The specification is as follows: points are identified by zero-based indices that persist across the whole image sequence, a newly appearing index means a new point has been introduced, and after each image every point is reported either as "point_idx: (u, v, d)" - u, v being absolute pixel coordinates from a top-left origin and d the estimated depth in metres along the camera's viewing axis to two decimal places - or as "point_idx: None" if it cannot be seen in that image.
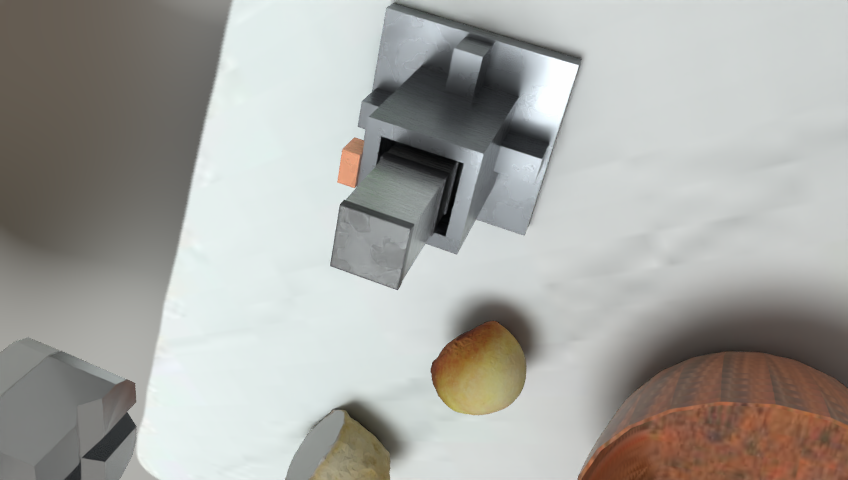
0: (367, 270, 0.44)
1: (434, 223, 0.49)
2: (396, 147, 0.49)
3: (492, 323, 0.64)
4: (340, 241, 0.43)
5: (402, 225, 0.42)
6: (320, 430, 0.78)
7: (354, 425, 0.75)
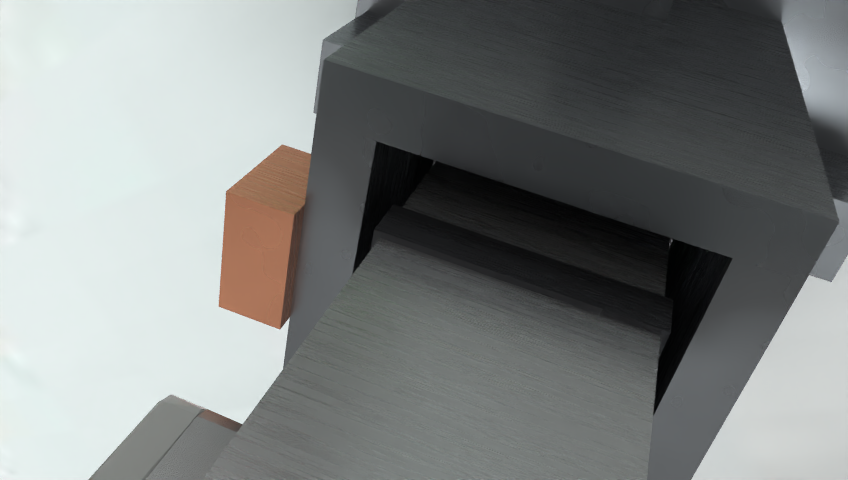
0: None
1: None
2: (436, 184, 0.13)
3: None
4: None
5: None
6: None
7: None
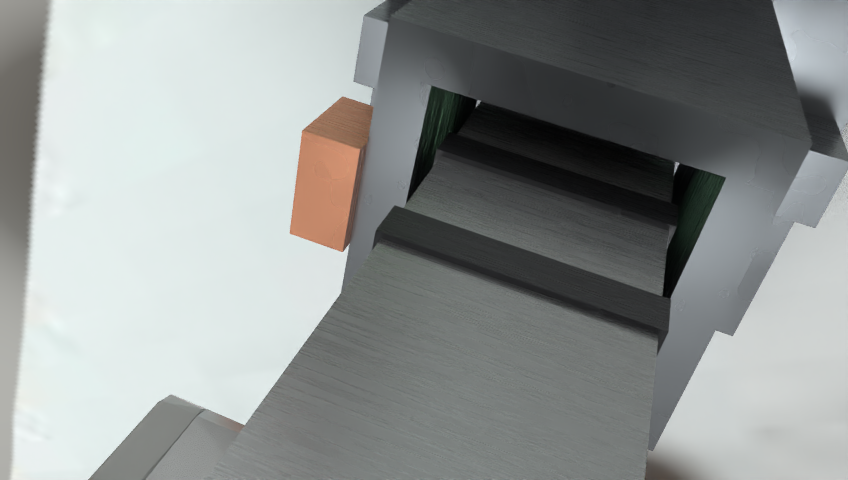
0: None
1: None
2: (436, 185, 0.13)
3: None
4: None
5: None
6: None
7: None
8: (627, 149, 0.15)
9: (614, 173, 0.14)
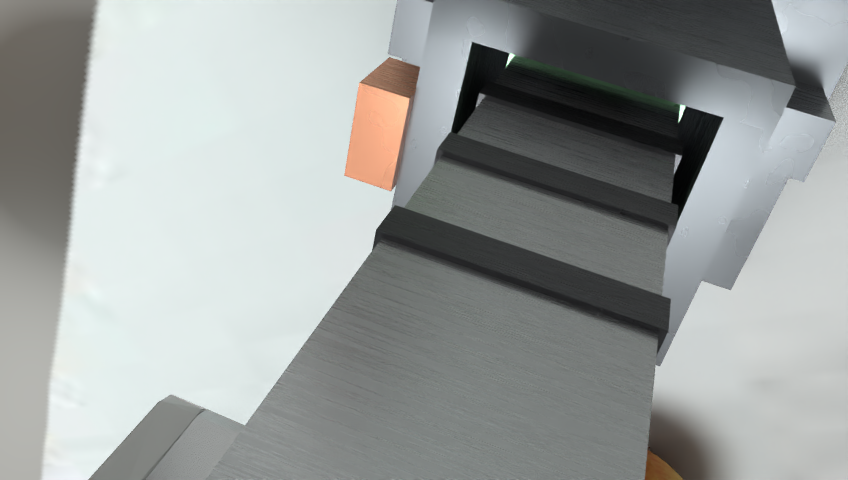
0: None
1: None
2: (437, 185, 0.13)
3: (647, 458, 0.32)
4: None
5: None
6: None
7: None
8: (627, 149, 0.15)
9: (614, 173, 0.14)
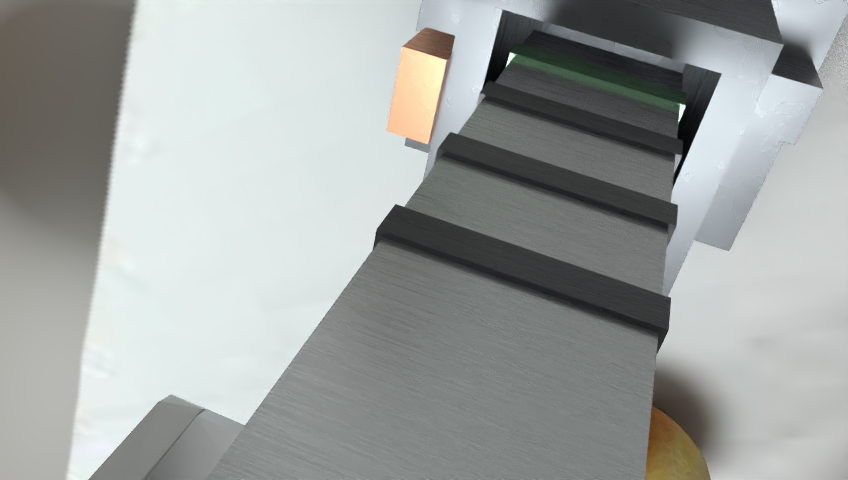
0: None
1: None
2: (437, 184, 0.13)
3: (651, 411, 0.35)
4: None
5: None
6: None
7: None
8: (627, 149, 0.15)
9: (614, 172, 0.14)
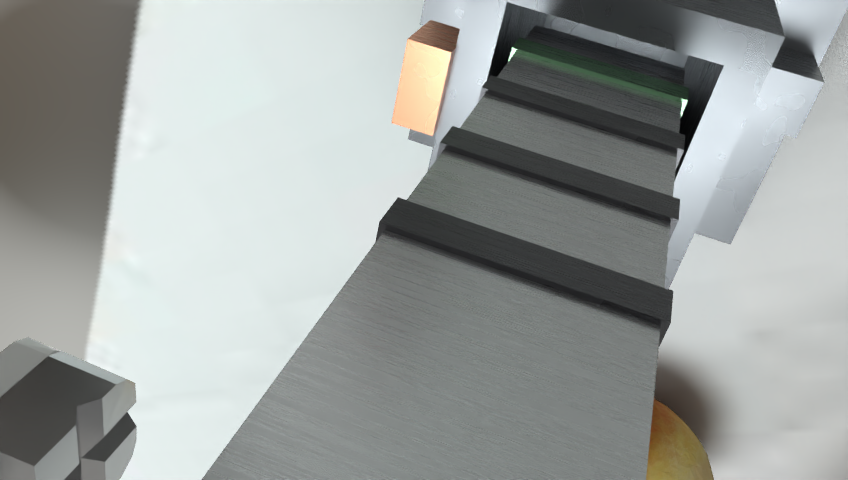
0: None
1: None
2: (440, 178, 0.13)
3: None
4: None
5: None
6: None
7: None
8: (629, 143, 0.15)
9: (616, 167, 0.14)
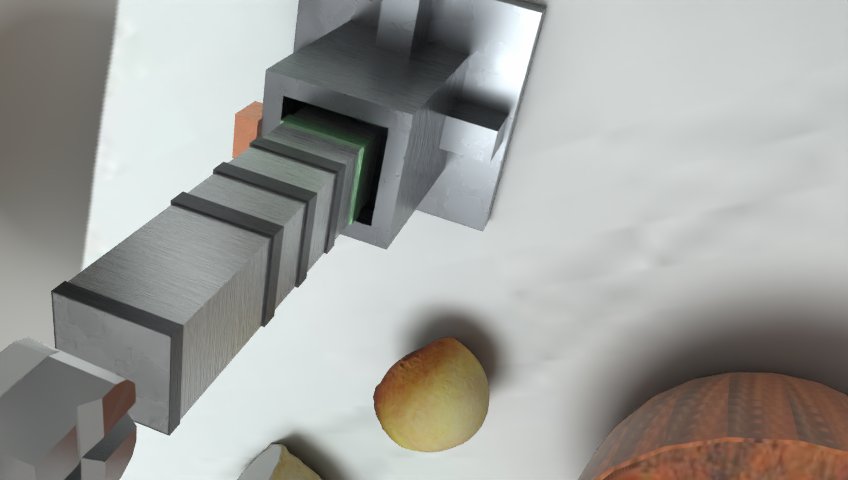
0: None
1: (265, 307, 0.30)
2: (207, 184, 0.31)
3: (447, 339, 0.53)
4: (65, 352, 0.25)
5: (158, 328, 0.23)
6: (255, 468, 0.66)
7: (292, 463, 0.63)
8: (314, 169, 0.33)
9: (298, 179, 0.32)
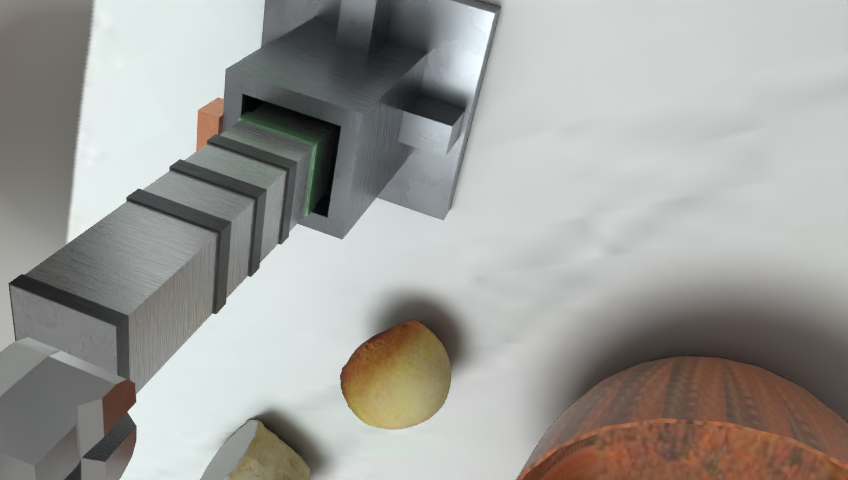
0: None
1: (216, 296, 0.32)
2: (162, 181, 0.33)
3: (411, 323, 0.55)
4: (24, 338, 0.27)
5: (105, 318, 0.26)
6: (233, 443, 0.69)
7: (267, 438, 0.66)
8: (266, 165, 0.36)
9: (250, 176, 0.35)
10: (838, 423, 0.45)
